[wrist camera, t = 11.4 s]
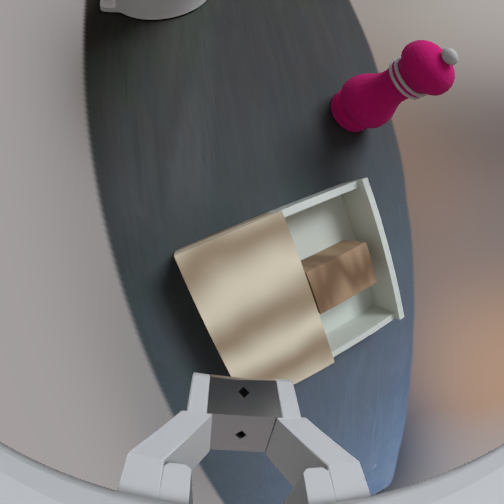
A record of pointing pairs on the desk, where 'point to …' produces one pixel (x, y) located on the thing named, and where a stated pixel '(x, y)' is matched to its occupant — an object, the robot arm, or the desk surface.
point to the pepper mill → (394, 86)
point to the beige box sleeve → (256, 300)
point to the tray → (352, 229)
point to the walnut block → (338, 273)
